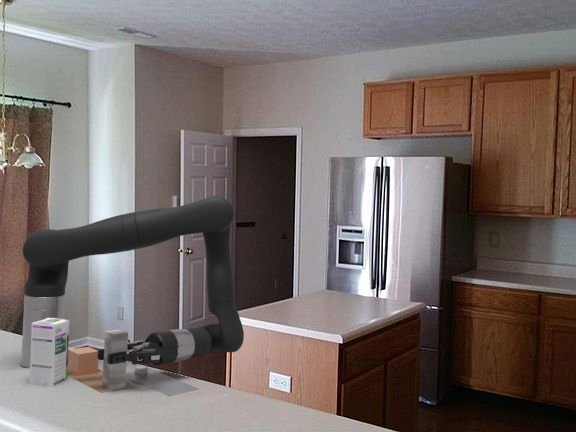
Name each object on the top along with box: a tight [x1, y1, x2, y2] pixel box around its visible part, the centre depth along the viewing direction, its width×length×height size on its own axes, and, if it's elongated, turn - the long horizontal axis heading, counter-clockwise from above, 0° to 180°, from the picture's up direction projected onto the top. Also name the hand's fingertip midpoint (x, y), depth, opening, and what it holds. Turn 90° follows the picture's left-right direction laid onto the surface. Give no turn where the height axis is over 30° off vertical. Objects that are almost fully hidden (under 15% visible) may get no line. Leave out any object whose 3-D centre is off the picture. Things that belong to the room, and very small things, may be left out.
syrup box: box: [29, 318, 70, 387], centre depth 130 cm, size 6×6×14 cm
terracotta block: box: [68, 346, 99, 376], centre depth 138 cm, size 5×5×5 cm
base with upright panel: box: [68, 329, 135, 394], centre depth 133 cm, size 20×8×13 cm, turn 46°
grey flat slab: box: [126, 365, 199, 397], centre depth 134 cm, size 20×8×2 cm, turn 46°
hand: (103, 357), depth 126 cm, fingers closed on base with upright panel, 3 cm apart
